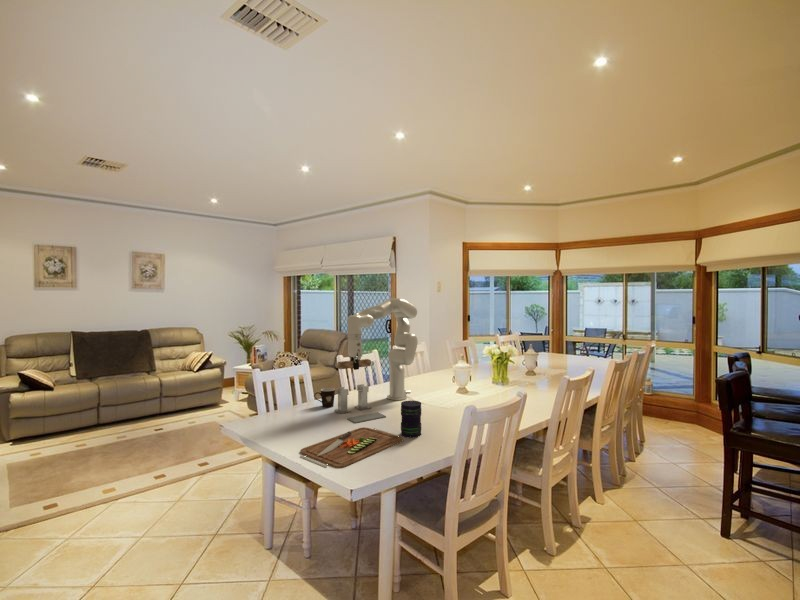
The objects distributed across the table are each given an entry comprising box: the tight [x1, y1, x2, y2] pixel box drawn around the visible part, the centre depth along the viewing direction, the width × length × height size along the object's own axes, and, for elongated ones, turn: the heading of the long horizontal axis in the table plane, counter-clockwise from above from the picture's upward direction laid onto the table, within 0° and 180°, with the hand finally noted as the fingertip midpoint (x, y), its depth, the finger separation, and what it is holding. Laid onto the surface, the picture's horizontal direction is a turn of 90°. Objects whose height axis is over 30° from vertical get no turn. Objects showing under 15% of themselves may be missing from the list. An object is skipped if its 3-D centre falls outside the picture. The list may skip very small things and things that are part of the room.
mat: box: [346, 411, 387, 424], centre depth 221 cm, size 19×9×1 cm, turn 124°
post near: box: [334, 386, 352, 415], centre depth 232 cm, size 7×7×13 cm
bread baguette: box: [336, 358, 372, 370], centre depth 234 cm, size 20×4×4 cm, turn 123°
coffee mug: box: [313, 387, 336, 409], centre depth 244 cm, size 12×9×10 cm
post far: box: [354, 383, 372, 411], centre depth 240 cm, size 7×7×13 cm
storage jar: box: [400, 400, 422, 439], centre depth 195 cm, size 10×10×15 cm
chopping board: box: [299, 426, 404, 469], centre depth 180 cm, size 45×27×3 cm, turn 141°
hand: (354, 368), depth 234 cm, fingers closed on bread baguette, 3 cm apart
